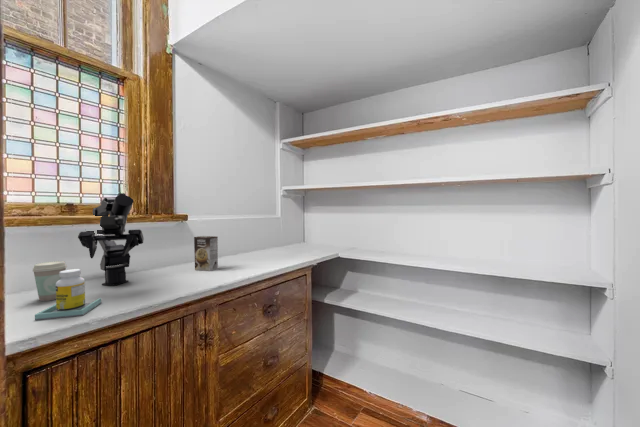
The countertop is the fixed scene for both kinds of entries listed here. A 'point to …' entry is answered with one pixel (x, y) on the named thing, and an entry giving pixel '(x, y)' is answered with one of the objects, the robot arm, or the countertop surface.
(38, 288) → the coffee cup
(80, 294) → the pill bottle
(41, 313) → the dock
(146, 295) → the countertop surface
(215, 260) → the coffee box
